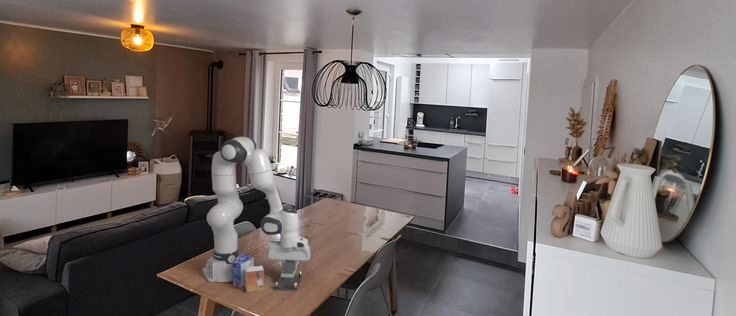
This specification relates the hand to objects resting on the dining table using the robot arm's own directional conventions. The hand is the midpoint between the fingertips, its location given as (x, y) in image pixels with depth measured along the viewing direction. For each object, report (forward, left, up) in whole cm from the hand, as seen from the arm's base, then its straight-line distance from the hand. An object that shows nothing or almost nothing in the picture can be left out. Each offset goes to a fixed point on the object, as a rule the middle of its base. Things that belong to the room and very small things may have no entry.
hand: (289, 268), depth 204 cm
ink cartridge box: (-14, -17, -8) cm, 24 cm away
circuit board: (0, 0, -2) cm, 2 cm away
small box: (-5, -16, -8) cm, 19 cm away
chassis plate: (0, 0, -8) cm, 8 cm away
